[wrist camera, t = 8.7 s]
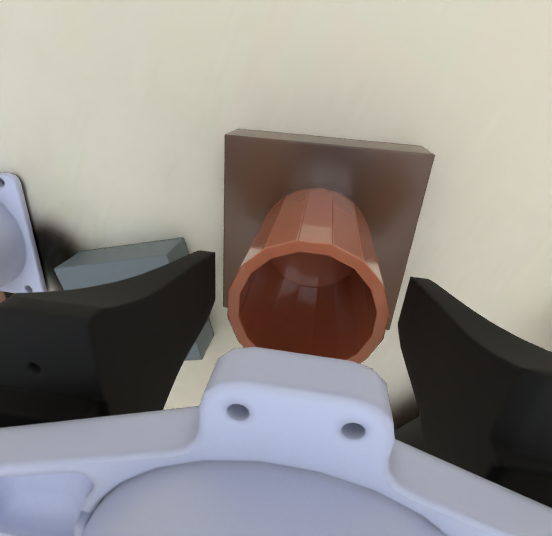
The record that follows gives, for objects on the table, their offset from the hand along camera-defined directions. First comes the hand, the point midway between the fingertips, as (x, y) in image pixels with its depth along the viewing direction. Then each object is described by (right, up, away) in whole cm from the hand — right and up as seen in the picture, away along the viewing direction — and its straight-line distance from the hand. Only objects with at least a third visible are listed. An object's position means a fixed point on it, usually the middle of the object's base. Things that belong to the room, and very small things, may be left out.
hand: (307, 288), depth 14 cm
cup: (+1, +2, +4) cm, 5 cm away
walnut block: (+1, +3, +6) cm, 7 cm away
